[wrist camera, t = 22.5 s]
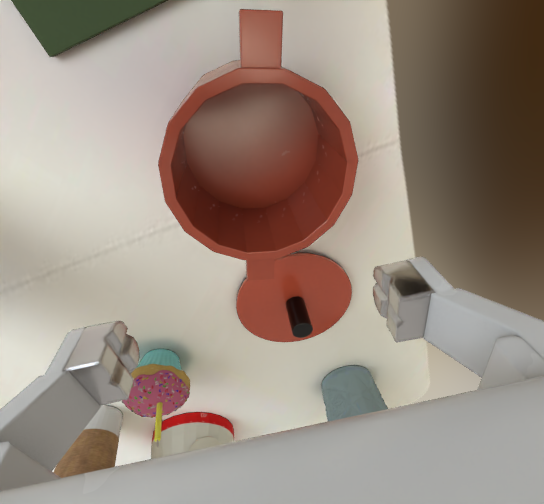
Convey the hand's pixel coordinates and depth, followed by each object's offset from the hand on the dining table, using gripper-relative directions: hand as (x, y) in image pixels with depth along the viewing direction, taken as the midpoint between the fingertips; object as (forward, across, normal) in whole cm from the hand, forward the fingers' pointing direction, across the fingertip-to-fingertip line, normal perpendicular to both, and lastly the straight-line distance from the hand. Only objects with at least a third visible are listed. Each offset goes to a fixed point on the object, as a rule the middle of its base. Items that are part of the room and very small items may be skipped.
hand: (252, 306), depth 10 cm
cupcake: (+22, +17, +27) cm, 39 cm away
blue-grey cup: (+22, -9, +42) cm, 49 cm away
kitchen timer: (+22, +19, +48) cm, 56 cm away
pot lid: (+21, -3, +21) cm, 30 cm away
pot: (+22, -1, +1) cm, 22 cm away
